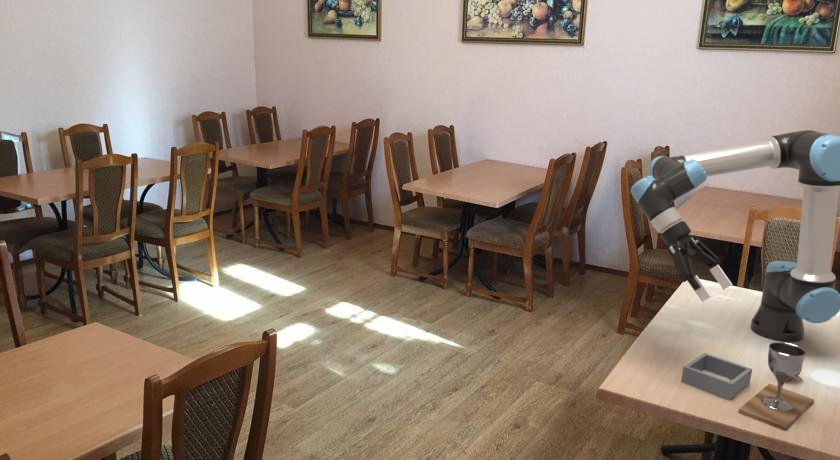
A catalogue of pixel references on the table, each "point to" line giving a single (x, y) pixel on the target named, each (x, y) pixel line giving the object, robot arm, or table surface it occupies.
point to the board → (772, 416)
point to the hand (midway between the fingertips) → (717, 293)
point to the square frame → (712, 383)
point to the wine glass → (783, 370)
